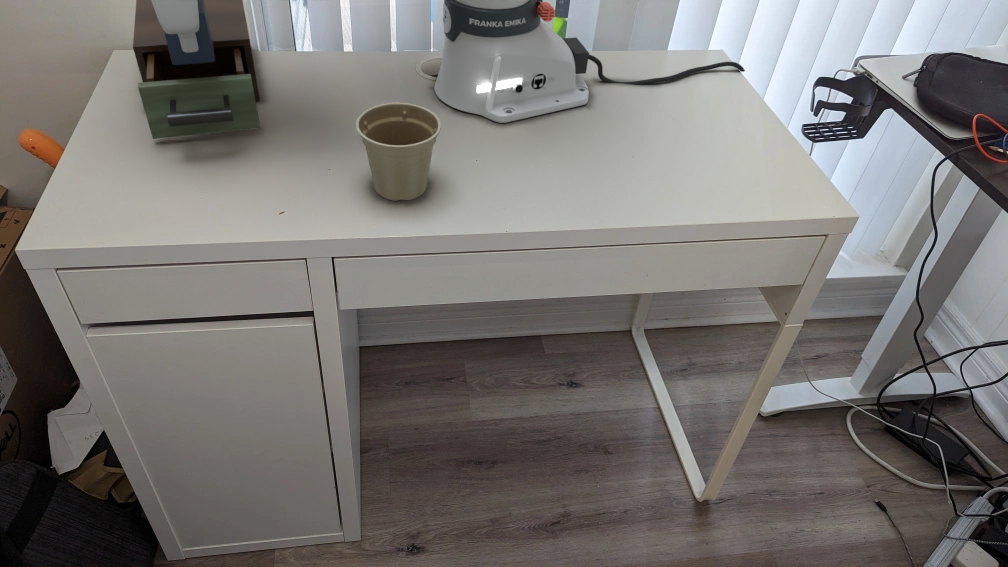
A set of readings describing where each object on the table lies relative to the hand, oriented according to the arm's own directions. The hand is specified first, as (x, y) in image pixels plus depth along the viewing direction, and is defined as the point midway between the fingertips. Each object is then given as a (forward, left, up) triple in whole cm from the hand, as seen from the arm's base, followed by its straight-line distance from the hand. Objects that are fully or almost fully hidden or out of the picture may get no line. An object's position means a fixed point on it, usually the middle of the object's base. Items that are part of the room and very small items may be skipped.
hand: (190, 38), depth 87 cm
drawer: (0, 0, -10) cm, 10 cm away
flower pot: (-21, +21, -11) cm, 31 cm away
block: (0, 0, -2) cm, 2 cm away
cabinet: (0, -11, -11) cm, 16 cm away
